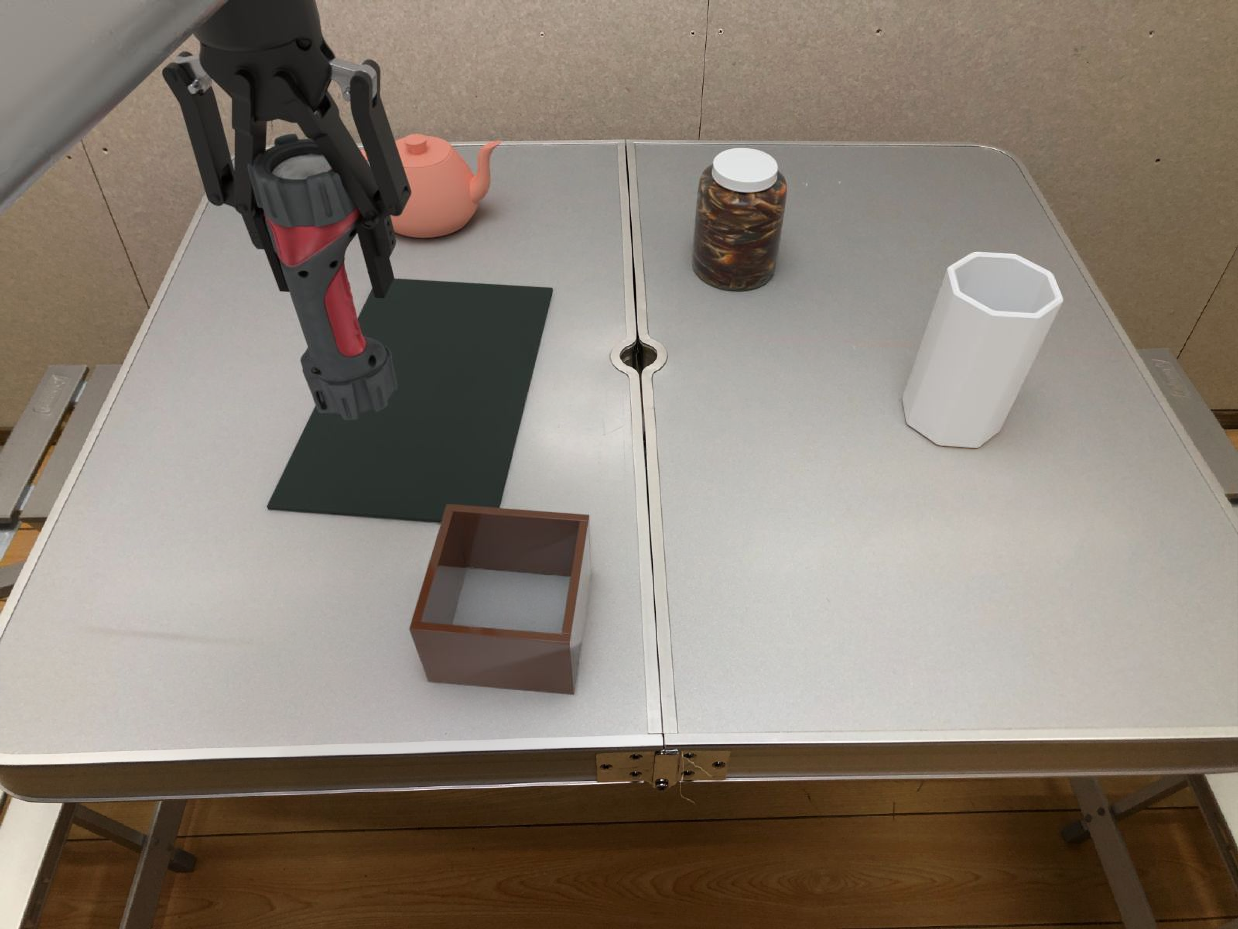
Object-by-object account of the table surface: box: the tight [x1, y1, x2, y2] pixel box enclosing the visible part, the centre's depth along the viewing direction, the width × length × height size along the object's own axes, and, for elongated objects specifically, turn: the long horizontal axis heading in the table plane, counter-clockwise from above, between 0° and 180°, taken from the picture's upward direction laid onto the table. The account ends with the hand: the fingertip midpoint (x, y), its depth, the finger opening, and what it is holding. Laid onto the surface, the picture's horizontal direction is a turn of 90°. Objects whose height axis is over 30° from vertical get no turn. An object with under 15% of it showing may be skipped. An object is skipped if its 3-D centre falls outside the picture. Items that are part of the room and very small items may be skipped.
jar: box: [691, 147, 788, 292], centre depth 110 cm, size 12×12×15 cm
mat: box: [266, 277, 554, 524], centre depth 99 cm, size 24×40×1 cm, turn 174°
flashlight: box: [248, 133, 398, 420], centre depth 66 cm, size 8×8×23 cm
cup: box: [901, 251, 1064, 449], centre depth 89 cm, size 11×11×18 cm
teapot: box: [360, 133, 502, 239], centre depth 119 cm, size 22×15×12 cm
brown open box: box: [409, 504, 593, 696], centre depth 75 cm, size 13×13×9 cm
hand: (337, 283), depth 66 cm, fingers closed on flashlight, 7 cm apart
